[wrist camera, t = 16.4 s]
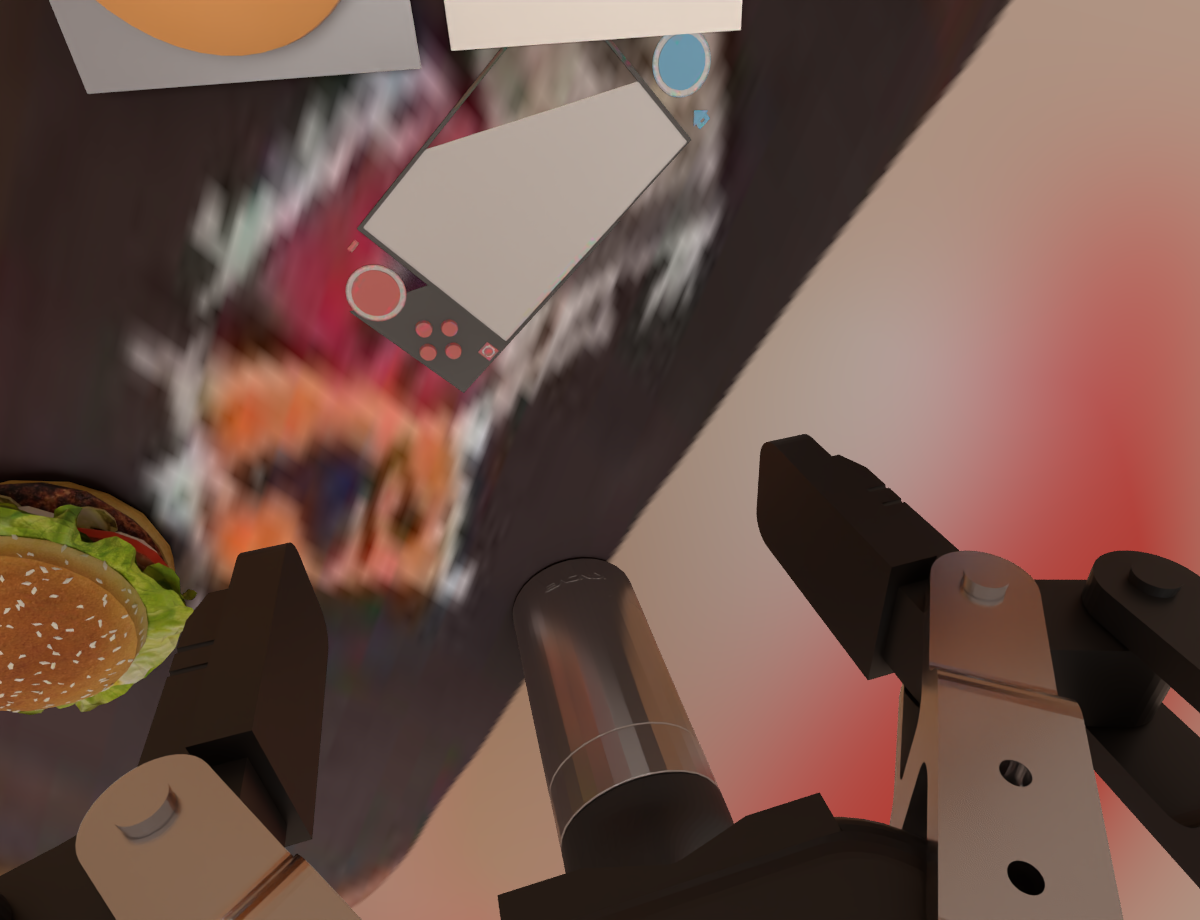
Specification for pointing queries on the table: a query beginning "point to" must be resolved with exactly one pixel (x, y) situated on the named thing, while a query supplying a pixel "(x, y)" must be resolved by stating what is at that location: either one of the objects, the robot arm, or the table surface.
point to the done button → (224, 22)
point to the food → (80, 597)
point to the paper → (581, 20)
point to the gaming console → (515, 213)
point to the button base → (139, 61)
